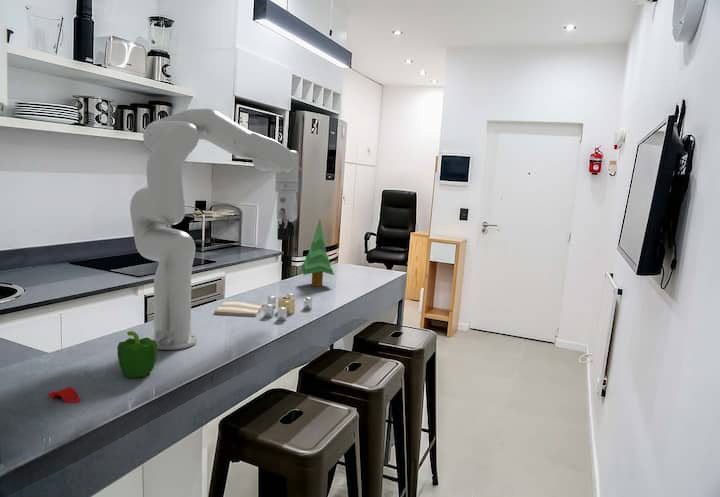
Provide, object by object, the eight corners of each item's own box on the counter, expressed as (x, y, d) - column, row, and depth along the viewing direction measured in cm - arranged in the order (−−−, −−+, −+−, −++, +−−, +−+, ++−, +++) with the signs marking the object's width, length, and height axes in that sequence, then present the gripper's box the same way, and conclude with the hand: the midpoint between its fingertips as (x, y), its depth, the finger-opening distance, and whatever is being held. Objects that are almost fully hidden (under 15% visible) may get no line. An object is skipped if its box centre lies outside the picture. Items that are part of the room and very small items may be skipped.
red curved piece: (44, 397, 104) (44, 387, 104) (57, 392, 107) (57, 383, 107) (72, 406, 101) (72, 396, 101) (84, 401, 104) (84, 391, 104)
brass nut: (293, 314, 175) (294, 300, 174) (276, 313, 175) (277, 299, 174) (295, 310, 180) (295, 296, 179) (279, 309, 180) (279, 295, 179)
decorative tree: (305, 280, 231) (308, 215, 226) (338, 284, 227) (342, 217, 223) (294, 286, 218) (297, 217, 213) (328, 290, 214) (332, 220, 210)
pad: (255, 316, 170) (256, 313, 170) (214, 314, 170) (214, 311, 169) (263, 305, 184) (263, 303, 183) (225, 303, 183) (225, 301, 183)
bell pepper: (163, 374, 118) (163, 333, 117) (128, 384, 112) (127, 341, 111) (146, 364, 124) (146, 325, 122) (112, 372, 118) (111, 331, 116)
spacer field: (306, 322, 166) (307, 310, 166) (258, 319, 166) (258, 307, 166) (313, 304, 189) (313, 294, 189) (270, 302, 189) (270, 291, 188)
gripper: (291, 189, 161) (290, 242, 164) (303, 186, 178) (302, 234, 181) (268, 188, 162) (268, 241, 164) (282, 185, 179) (281, 233, 181)
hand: (285, 237), depth 173 cm, fingers open, 9 cm apart
